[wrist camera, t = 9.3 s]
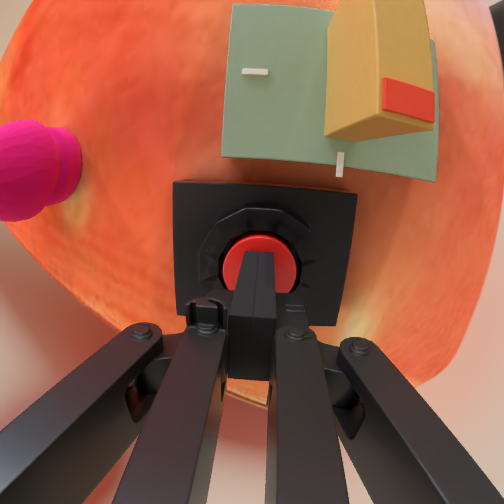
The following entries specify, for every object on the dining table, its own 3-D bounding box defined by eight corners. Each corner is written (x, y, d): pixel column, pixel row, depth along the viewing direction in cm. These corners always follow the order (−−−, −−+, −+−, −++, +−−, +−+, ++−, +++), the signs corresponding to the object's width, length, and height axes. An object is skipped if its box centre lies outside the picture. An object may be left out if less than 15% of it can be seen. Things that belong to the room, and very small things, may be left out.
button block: (348, 190, 18) (367, 198, 14) (330, 311, 21) (341, 341, 17) (182, 179, 18) (161, 184, 15) (184, 300, 21) (168, 329, 17)
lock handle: (327, 27, 12) (366, -55, 4) (359, 34, 12) (418, -37, 4) (323, 137, 14) (379, 114, 6) (358, 142, 14) (438, 130, 6)
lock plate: (414, 45, 14) (434, 32, 11) (413, 187, 17) (436, 192, 14) (238, 17, 14) (232, -5, 11) (227, 166, 18) (219, 168, 15)
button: (297, 231, 16) (300, 239, 15) (290, 294, 18) (292, 308, 16) (227, 227, 17) (223, 234, 15) (226, 289, 18) (222, 303, 16)
